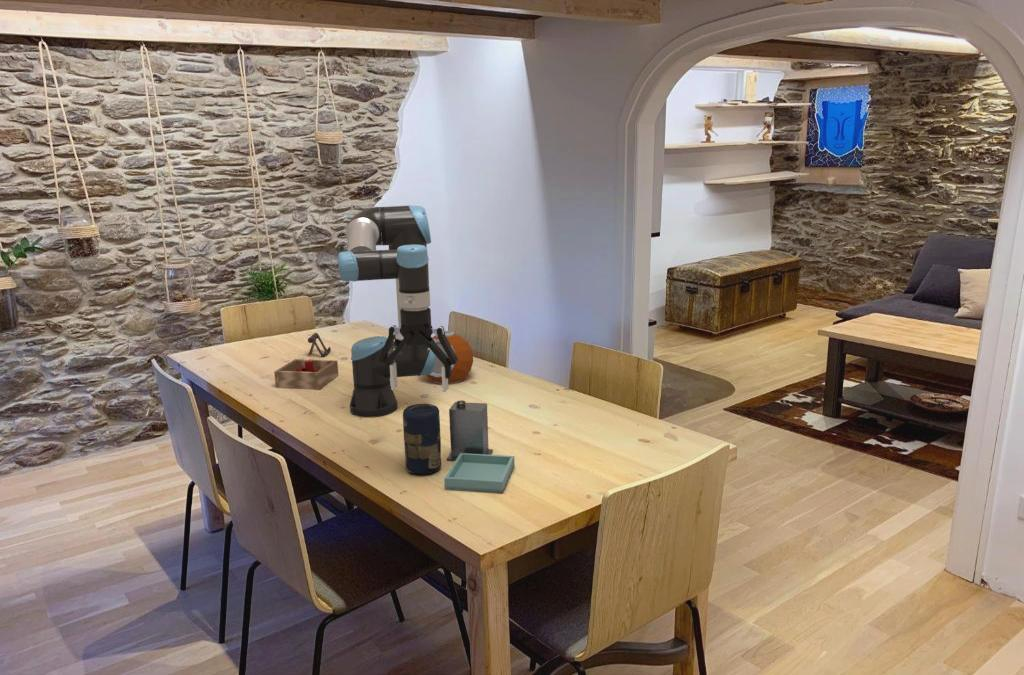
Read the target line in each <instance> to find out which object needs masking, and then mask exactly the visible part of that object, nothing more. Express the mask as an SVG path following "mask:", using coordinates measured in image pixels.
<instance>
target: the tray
mask: <svg viewBox="0 0 1024 675" xmlns="http://www.w3.org/2000/svg"><path fill="white" fill-rule="evenodd" d="M514 469H515V456H514V455H501V454H491V455H486V454H469V453H460V454H459V456H458V457H457V459H456V461H453V463H452V466H451V467H450V469H449V470H448V472H447V473H446V474H445V476H444V481H443V482H444V483H443V484H444V490H449V491H460V492H461V491H464V492H465V491H466V492H477V493H478V492H479V493H493V494H504V491H505V489H506V488H507V485H508V482H509V480H510V478H511V475H512V473H513V471H514Z"/></svg>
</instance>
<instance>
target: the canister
mask: <svg viewBox="0 0 1024 675" xmlns="http://www.w3.org/2000/svg"><path fill="white" fill-rule="evenodd" d="M440 422H441V418H440V409H439V407H437V406H436V405H435V404H431V403H416V404H412V405H408V406H406V407H405V408H404V409H403V411H402V427H403V428H402V430H403V444H404V459H405V460H404V462H405V463H404V464H405V468H406V470H407V471H408V472H410V473H412V474H416V475H427V474H431V473H434V472H436V471H438V470H439V469H440V468H441V467H442V456H441V455H442V447H441V446H442V441H441V438H442V437H441V423H440Z"/></svg>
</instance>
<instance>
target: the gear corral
mask: <svg viewBox="0 0 1024 675" xmlns="http://www.w3.org/2000/svg"><path fill="white" fill-rule="evenodd" d="M308 360H309V359H303V358H302V359H299V358H296V359H293V360H291V361H290V362H287V363H286V364H285V365H283V366H281V367H279V368H278V369H276V370H275V371H274V382H275V388H277V389H296V390H299V389H301V390H322V389H323V388H324V387H326V386H327V385H329V384H330V383H331V382H333V381H334V380H335V379H337V378H338V377H339V376H340V375H339V364H338V360H335V359H334V360H332V359H331V360H328V359H327V360H326V359H325V360H324V359H310V361H312V360H313V367H314V370H316V371H317V368H320V369H319V371H318V372H299V371H296V370H297V368H298V367H305V362H306V361H308ZM319 365H320V367H319Z"/></svg>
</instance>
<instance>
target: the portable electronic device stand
mask: <svg viewBox="0 0 1024 675" xmlns="http://www.w3.org/2000/svg"><path fill="white" fill-rule="evenodd" d="M317 339H318V341H319V342H320V345H321V346H322V348H323V350H324V352H322V350H321V348H320V347H319V345H318V343H317ZM307 342H308V343H309V344H311V347H310V349H309V352H308V355H307V356H308V357H309V356H310V355H311V354H312V353H313V350H314V348H316V350H317V351H318V353H319V355H320V357H322V358H326V356H327V355H329V353H330V352H331V351H332V348H331V346H329V347H328V348H326V346H325V344H324V341H323V340H322V338H321V337H320V335H319V333H318V332H314V333H313V334H312V335H311V336H309V338H308V339H307Z"/></svg>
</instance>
